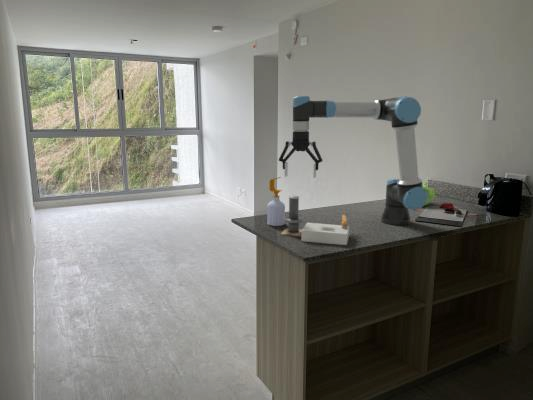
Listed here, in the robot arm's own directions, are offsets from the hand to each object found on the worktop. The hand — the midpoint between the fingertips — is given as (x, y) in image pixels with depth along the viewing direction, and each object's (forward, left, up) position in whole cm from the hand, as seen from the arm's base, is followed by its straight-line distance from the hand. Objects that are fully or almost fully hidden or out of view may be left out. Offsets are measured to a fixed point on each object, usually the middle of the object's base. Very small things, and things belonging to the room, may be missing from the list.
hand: (300, 176), depth 192 cm
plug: (+2, +2, -26) cm, 26 cm away
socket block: (-14, +7, -27) cm, 31 cm away
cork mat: (+2, +2, -27) cm, 27 cm away
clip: (-21, -1, -20) cm, 29 cm away
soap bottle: (+14, -11, -27) cm, 33 cm away
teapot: (-61, -87, -27) cm, 110 cm away
